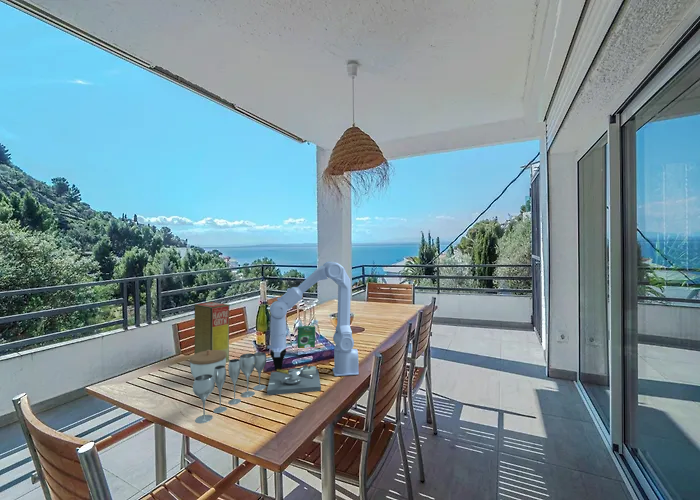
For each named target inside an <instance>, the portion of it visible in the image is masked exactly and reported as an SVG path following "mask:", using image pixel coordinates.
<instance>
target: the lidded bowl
mask: <svg viewBox="0 0 700 500" xmlns="http://www.w3.org/2000/svg"><path fill="white" fill-rule="evenodd" d="M221 365H223V366H225V367H226V365H227V362H226V352H225V351H221V350H207V351H203V352H199V353H196V354H192V355H191V356H189V367H190V373H191V375H192V377H193V378H194V379H195V378H196V377H197V376H200V375H204V374H210V375H212V376H213V378H214V369H215V367H216V366H221Z"/></svg>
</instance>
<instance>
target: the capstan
mask: <svg viewBox="0 0 700 500" xmlns="http://www.w3.org/2000/svg"><path fill="white" fill-rule="evenodd" d="M307 367H309V366H308V364H305V365H303V366H301V367H300V368H290V369H289V370H287V369H283V368H282V369H277V371H276V372H280V373H285V374H288V376H285V377H284V378H283V379H281V380H280V383H281V384H282V383H283V382H284V383H285V384H298V383H300V382H301V377H304V378H309V379H313V375H308V374H303V373H301V371H303V370H305V369H306V368H307Z"/></svg>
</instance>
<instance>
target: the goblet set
mask: <svg viewBox="0 0 700 500" xmlns="http://www.w3.org/2000/svg"><path fill="white" fill-rule="evenodd" d="M266 363H267V353H266V352H264V351H259V352H253V353H244V354H241V355H240V356H239V358H233V359H229V362H228V368H227V369H228V375H229V377H230V379H231V381H232V385H233V398H232V399H230V400H229V401H228V402H227V403H228V404H229V405H230V406H231V405H233V406H235V405H238V404H240V403H241V402H242V399H240V398H236V385H237V381H238V379H239V376H240V373H242V374H243V375H244V377H245V378H246V391H244V392H242V393H240V397H241V398H246V399H248V398H252V397H253V396H255V395H256V392H255V391H262V390H265V389H266V388H267V386H266V385H265V384H261V375H262V372H263V369H264V368H265V366H266ZM227 369H226V366H223V365H221V366H216V367H215V369H214V378H213V376H212V375H210V374H204V375H200V376H197V377H196V378H194V381H193V383H192V392H193V394H194V395H195V396H196V397H198V398H199V399H200V400H201V402H202V407H203V409H202V410H203V411H202V412H203V415H200V416H197V417H196V418H195V420H194V423H196V424H205V423H208V422H210V421H212V420H213V419H214V416H213V415H212V414H206V413H205V412H206V411H205V410H206V402H207V401H206V400H207V398H208V397H209V396H210V395H211V394H212V392H214V390H215V385H216V387H217V390H218V395H219V396H218V397H219V406H218V407H216V408H214V409H213V413H214V414H220V413H221V414H222V413H225V412H226V411H227V410H228V408H227V407H226V406H222V397H221V396H222V390H223V387H224V384H225V381H226V378H227ZM254 370H256V372H257V375H258V384H256V385H255V386H253V388H252V389H253V390H255V391H253V390H249V380H250V376H251V375H252V373H253V371H254Z"/></svg>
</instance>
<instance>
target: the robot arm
mask: <svg viewBox="0 0 700 500" xmlns="http://www.w3.org/2000/svg"><path fill="white" fill-rule="evenodd" d="M328 278H329V279H331V280H332V281H333V282H334V283H335V284H337V312H336V313H337V318H336V319H337V320H336V324H337V325H336V327H335V332H334V334H333V337H332V339H333V340H332V341H333V343H334V344H335V346H334V347H333V348H334V349H333V350H334V352H333V353H334V355H333V357H334V363H333V365H334V367H332V371H333V375H334V377H343V376H345V377H346V376H355V375H356V376H358V375H360V373H359V351H358V348H354V345H355V340H354V338H353V332H352V329H351V302H352V301H351V299H352V298H351V293H352V288H351V287H352V280H351V279H350V276H349V275H348V273H347V271H346V269H345V267H343V265H341V264H340V263H339V262H336V261H325V262H324V263H323V264H322V265H320V266H319V267H318V268H316V269H315V270H314V271H312V273H311V274H310V275H308V276H307V278H305V280H303V281H302V282H301V283H300V284H299V285H298V286H292V287H288V288H287V289H286V292H285V293H284V294H282V295H281V296H280V297H279V296H278V297H277V298H276V301H273V302H272V303H271V305H270V306H269V312H270V325H269V329H270V333H269V335H270V337H269V338H270V340H269V341H270V344H269V345H267V347H266V348H267V349H270V352H269V355H270V357H271V360H272V362H273V365H274V372H277V369H283V363H284V359H285V356H286V353H287V349H286V348H287V347H288V346H287V321H286V315H287V313H288V311H289V310H291V309H292V308H293V307H294V306H295V305H296V304H298V303H299V302H300V301H301V300H302V299H303V294H304V293H305V292H307V291H308V290H309V289H311V287H313V286H314V285H315V284H317V283H318V282H319V281H324V280H328Z"/></svg>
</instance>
